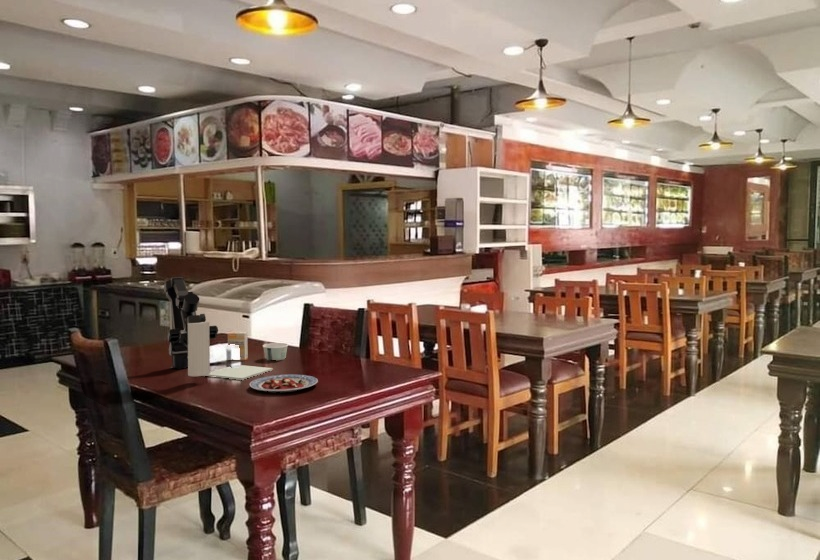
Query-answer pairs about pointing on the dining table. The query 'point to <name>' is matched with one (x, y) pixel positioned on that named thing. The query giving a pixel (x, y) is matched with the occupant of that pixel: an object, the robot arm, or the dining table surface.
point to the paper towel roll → (198, 349)
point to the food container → (275, 351)
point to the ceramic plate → (283, 383)
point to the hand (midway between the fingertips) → (196, 350)
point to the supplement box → (239, 342)
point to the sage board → (239, 372)
